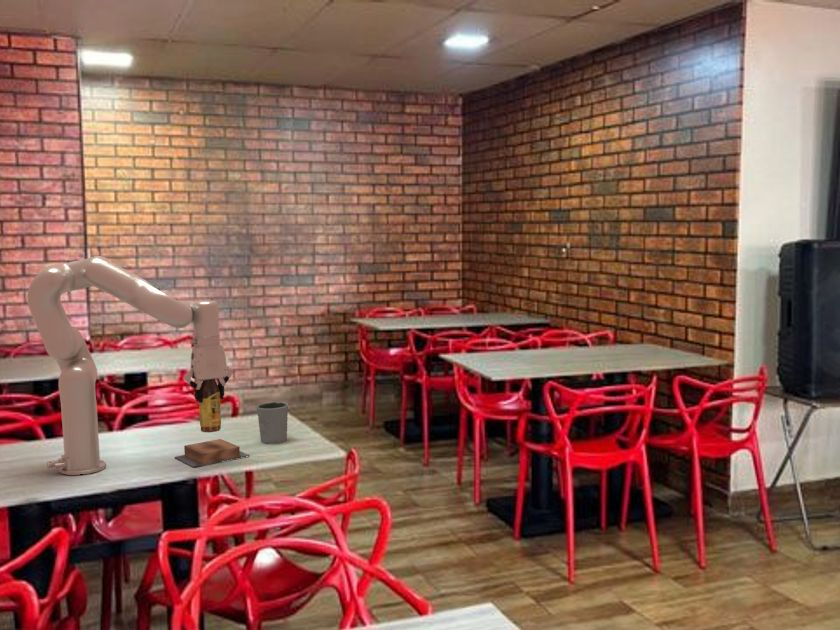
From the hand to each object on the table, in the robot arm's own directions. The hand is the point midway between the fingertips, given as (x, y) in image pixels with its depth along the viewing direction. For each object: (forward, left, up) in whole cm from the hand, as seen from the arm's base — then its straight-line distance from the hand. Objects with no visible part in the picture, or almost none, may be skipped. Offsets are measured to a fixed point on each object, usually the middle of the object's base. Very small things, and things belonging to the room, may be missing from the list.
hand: (209, 399), depth 249 cm
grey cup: (+24, +5, -18) cm, 30 cm away
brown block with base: (0, 0, -18) cm, 18 cm away
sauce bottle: (0, 0, -10) cm, 10 cm away
